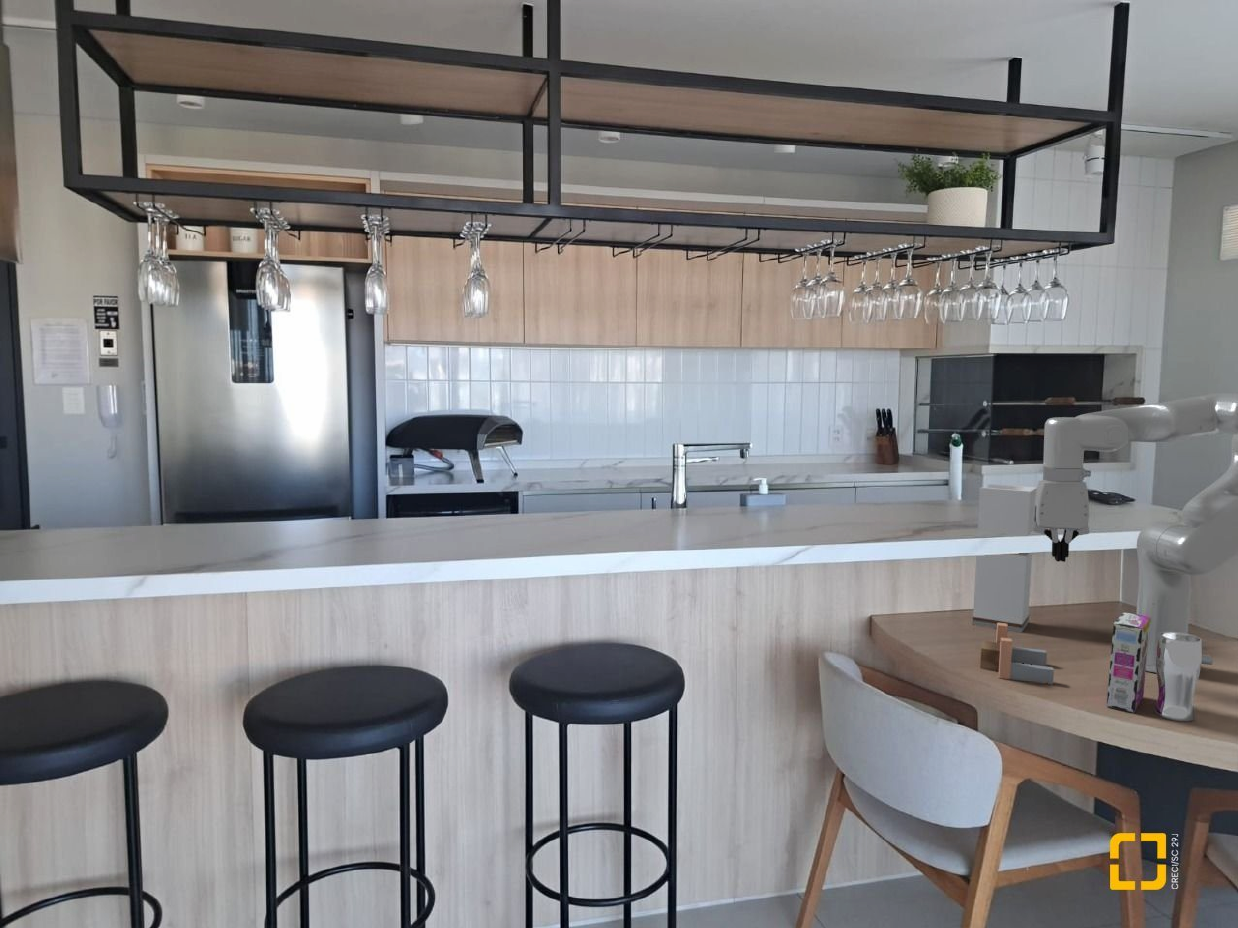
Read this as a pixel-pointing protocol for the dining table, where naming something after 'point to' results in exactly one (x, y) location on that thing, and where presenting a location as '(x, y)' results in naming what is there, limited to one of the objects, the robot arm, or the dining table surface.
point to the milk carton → (1128, 661)
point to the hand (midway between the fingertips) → (1059, 560)
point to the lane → (1021, 660)
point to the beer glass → (1177, 674)
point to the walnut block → (990, 655)
